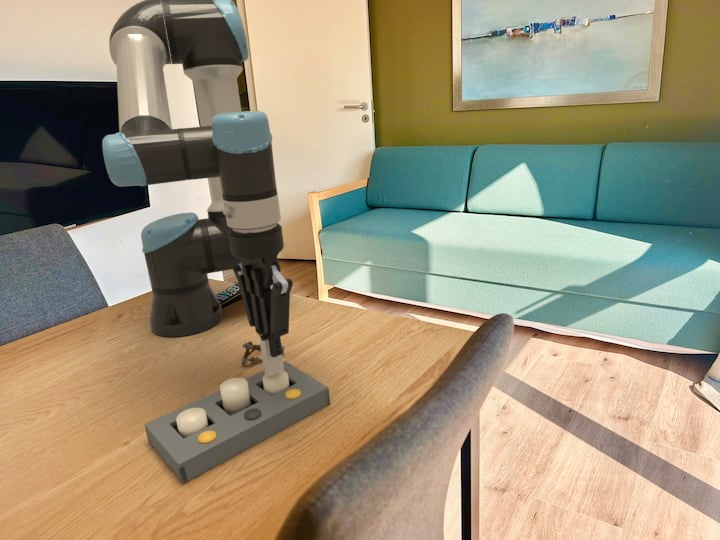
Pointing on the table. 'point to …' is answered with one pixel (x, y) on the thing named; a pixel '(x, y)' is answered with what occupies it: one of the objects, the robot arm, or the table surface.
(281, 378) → the button
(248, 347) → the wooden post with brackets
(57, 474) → the table surface
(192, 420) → the button
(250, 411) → the console
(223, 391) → the button
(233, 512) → the table surface
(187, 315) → the robot arm
